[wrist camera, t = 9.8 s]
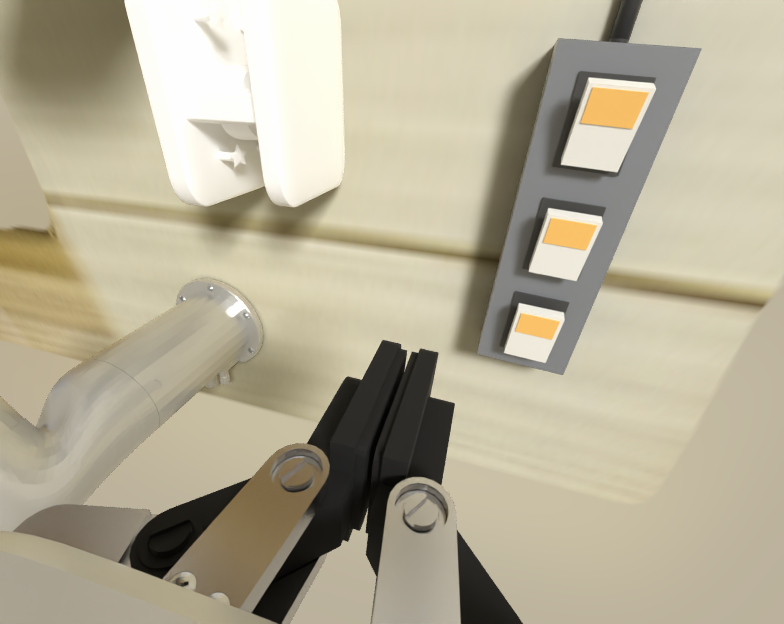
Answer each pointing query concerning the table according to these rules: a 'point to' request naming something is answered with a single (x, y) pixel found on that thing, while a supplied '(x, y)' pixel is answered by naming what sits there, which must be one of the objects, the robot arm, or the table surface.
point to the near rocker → (606, 123)
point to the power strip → (580, 182)
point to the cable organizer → (244, 95)
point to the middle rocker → (564, 243)
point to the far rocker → (533, 332)
